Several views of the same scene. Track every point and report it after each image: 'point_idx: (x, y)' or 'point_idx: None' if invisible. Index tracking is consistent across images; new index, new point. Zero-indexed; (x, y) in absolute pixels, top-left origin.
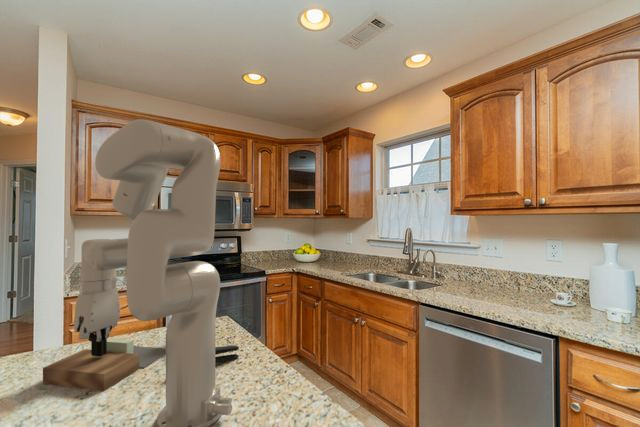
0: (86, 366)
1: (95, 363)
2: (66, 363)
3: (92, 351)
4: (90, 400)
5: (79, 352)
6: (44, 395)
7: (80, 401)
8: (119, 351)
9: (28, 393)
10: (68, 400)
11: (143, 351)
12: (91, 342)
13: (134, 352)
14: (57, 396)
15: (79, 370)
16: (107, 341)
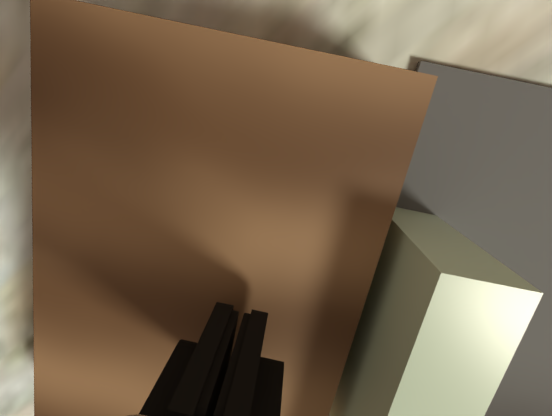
0: (100, 332)
1: (147, 361)
2: (128, 147)
3: (176, 353)
4: (27, 381)
5: (356, 87)
6: (17, 153)
7: (13, 350)
8: (351, 406)
9: (14, 38)
10: (8, 299)
11: (525, 385)
12: (178, 387)
13: (522, 339)
14: (23, 227)
15: (46, 324)
16: (415, 363)
